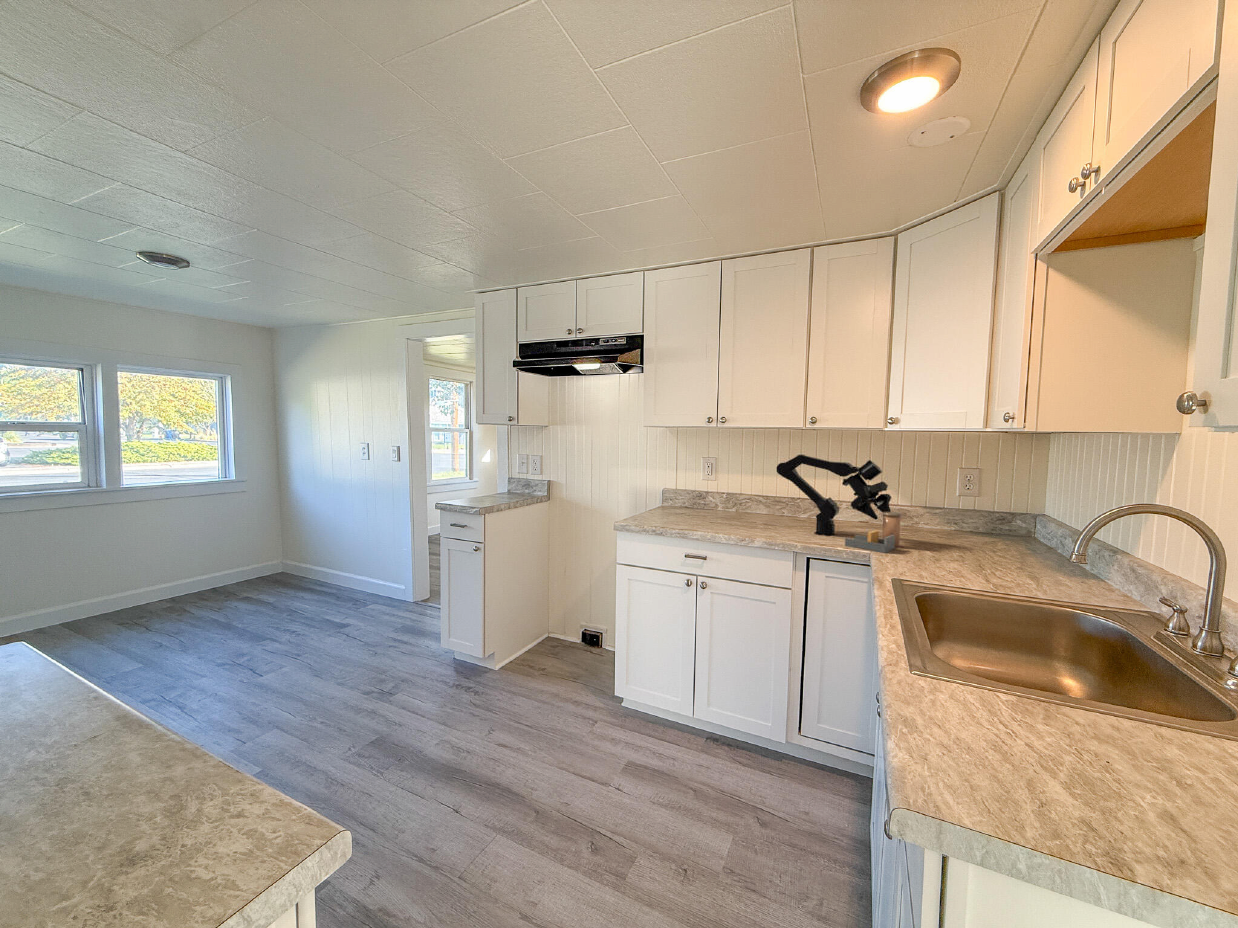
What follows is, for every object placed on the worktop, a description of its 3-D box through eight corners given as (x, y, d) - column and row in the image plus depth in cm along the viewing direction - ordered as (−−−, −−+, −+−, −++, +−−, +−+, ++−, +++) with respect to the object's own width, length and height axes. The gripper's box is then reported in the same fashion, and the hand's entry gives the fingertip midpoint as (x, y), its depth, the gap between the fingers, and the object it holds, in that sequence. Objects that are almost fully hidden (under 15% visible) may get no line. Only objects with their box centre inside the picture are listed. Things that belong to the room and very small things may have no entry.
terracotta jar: (878, 545, 191) (880, 512, 190) (884, 543, 195) (886, 511, 195) (896, 548, 186) (898, 515, 186) (902, 546, 191) (903, 513, 190)
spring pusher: (867, 547, 185) (867, 532, 184) (874, 544, 190) (875, 530, 190) (870, 547, 184) (871, 533, 184) (878, 544, 189) (878, 530, 189)
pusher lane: (844, 545, 190) (845, 531, 189) (855, 542, 197) (855, 528, 196) (885, 553, 179) (886, 538, 179) (894, 548, 186) (895, 534, 186)
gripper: (858, 475, 192) (883, 507, 183) (888, 474, 201) (913, 504, 192) (840, 493, 200) (863, 524, 191) (869, 491, 208) (893, 520, 199)
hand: (884, 518), depth 193 cm, fingers open, 9 cm apart
